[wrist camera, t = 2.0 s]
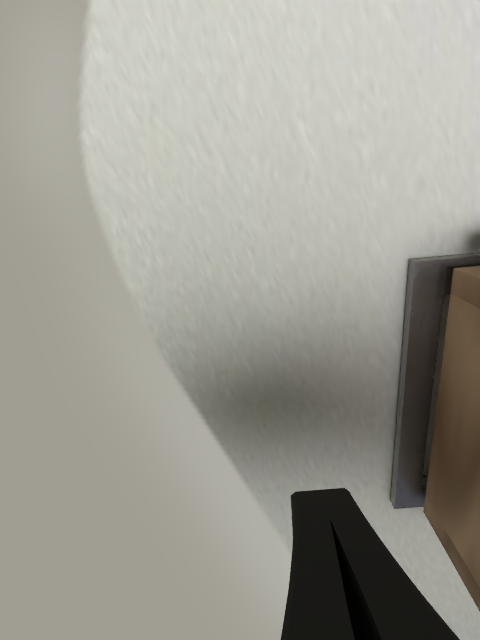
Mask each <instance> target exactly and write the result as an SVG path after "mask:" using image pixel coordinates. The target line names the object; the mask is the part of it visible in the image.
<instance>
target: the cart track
mask: <svg viewBox="0 0 480 640" xmlns="http://www.w3.org/2000/svg"><path fill="white" fill-rule="evenodd" d="M472 266H480V253H472V254H461V255H450V256H439V257H429V258H418V259H409V268H408V281H407V294H406V307H405V319H404V332H403V345H402V358H401V371H400V384H399V396H398V409H397V422H396V435H395V448H394V461H393V474H392V486H391V499H390V501H391V503H392V505H393V507H394V509H398V508H411V507H424V504H425V496H426V488H427V480H428V476H426V477H422V472H423V464H424V455H425V446H426V438H427V429H428V421H429V412H430V403H431V395H432V386H433V378H434V369H435V360H436V352H437V343H438V335H439V326H440V317H441V309H442V300H443V296H445V295H450V294H451V286H452V278H453V270H454V268H461V267H472Z"/></svg>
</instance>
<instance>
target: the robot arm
mask: <svg viewBox="0 0 480 640" xmlns="http://www.w3.org/2000/svg"><path fill="white" fill-rule="evenodd" d="M291 508H292V526H293V550H292V561H291V572H290V582H289V590H288V597H287V603H286V610H285V617H284V623H283V629H282V636H281V640H460V639H459V638H458V637H457V636H456V635H455V633H454V632H453V631H452V630H451V629H450V628H449V626H448V625H447V624H446V623H445V622H444V620H443V619H442V618H441V617H440V616H439V614H438V613H437V612H436V611H435V610H434V608H433V607H432V606H431V605H430V604H429V602H428V601H427V600H426V599H425V597H424V596H423V595H422V594H421V592H420V591H419V590H418V589H417V587H416V586H415V585H414V584H413V582H412V581H411V580H410V578H409V577H408V576H407V574H406V573H405V572H404V570H403V569H402V568H401V566H400V565H399V564H398V563H397V561H396V560H395V559H394V557H393V556H392V555H391V553H390V552H389V551H388V549H387V548H386V546H385V545H384V544H383V542H382V541H381V539H380V538H379V537H378V535H377V534H376V532H375V531H374V529H373V528H372V527H371V525H370V524H369V522H368V521H367V519H366V518H365V516H364V515H363V513H362V512H361V510H360V509H359V507H358V505H357V504H356V502H355V501H354V499H353V497H352V496H351V494H350V492H349V491H348V490H347V489H345V488H339V489H326V490H313V491H300V492H295V493H293V494H292V495H291Z"/></svg>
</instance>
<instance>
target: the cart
mask: <svg viewBox="0 0 480 640" xmlns="http://www.w3.org/2000/svg"><path fill="white" fill-rule="evenodd" d="M424 513H425V515H426V517H427V519H428V520H429V522H430V524H431V526H432V527H433V529H434V531H435V533H436V535H437V536H438V538H439V540H440V542H441V543H442V545H443V547H444V549H445V550H446V552H447V554H448V556H449V558H450V559H451V561H452V563H453V565H454V566H455V568H456V570H457V572H458V574H459V575H460V577H461V579H462V581H463V582H464V584H465V586H466V588H467V589H468V591H469V593H470V595H471V597H472V598H473V600H474V602H475V604H476V605H477V607H478V609H479V611H480V266H472V267H461V268H454V270H453V278H452V286H451V294H450V302H449V310H448V318H447V326H446V334H445V343H444V351H443V359H442V367H441V375H440V383H439V391H438V399H437V407H436V415H435V423H434V431H433V439H432V447H431V456H430V464H429V472H428V480H427V488H426V496H425V504H424Z"/></svg>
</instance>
